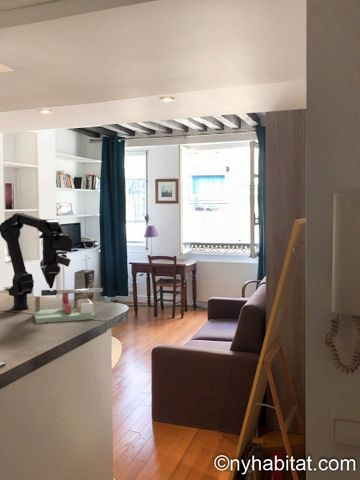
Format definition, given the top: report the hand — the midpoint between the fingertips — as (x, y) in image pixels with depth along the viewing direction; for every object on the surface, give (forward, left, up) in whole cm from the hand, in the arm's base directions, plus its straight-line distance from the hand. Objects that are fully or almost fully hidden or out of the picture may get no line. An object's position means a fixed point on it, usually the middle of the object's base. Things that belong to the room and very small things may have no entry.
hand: (49, 286), depth 188 cm
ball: (+5, +13, -10) cm, 18 cm away
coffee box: (-13, +17, -13) cm, 25 cm away
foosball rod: (+4, +10, -10) cm, 14 cm away
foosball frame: (+5, +5, -12) cm, 14 cm away
